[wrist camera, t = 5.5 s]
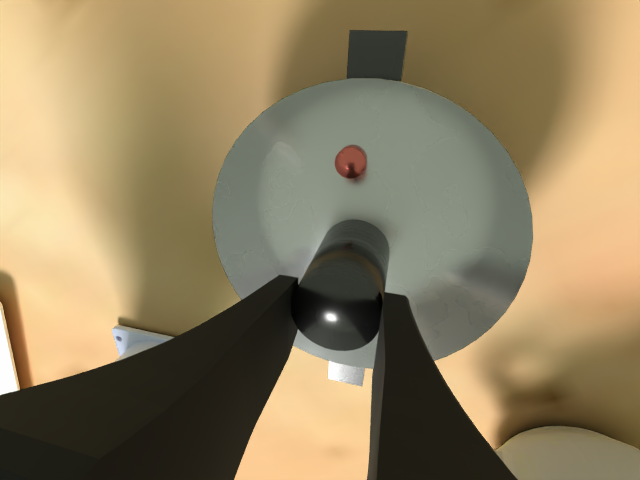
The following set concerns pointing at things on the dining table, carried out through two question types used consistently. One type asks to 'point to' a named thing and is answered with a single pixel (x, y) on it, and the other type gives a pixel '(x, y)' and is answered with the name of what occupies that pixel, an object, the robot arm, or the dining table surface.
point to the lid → (374, 215)
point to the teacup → (569, 455)
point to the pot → (371, 62)
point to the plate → (6, 360)
